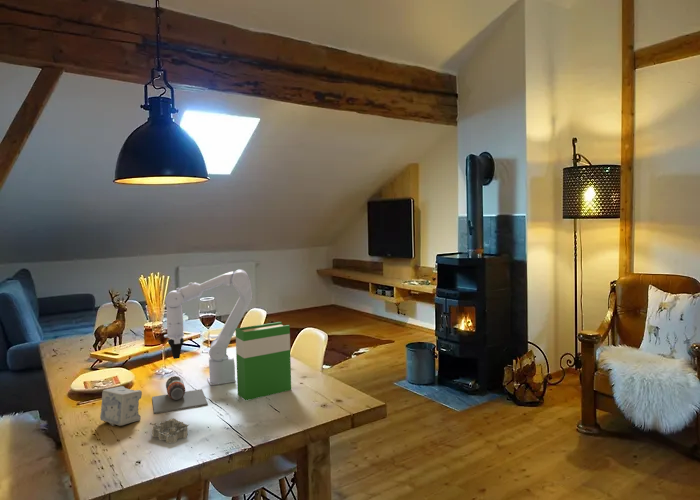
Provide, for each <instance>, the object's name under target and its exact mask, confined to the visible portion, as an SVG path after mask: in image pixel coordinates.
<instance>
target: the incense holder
mask: <svg viewBox="0 0 700 500" xmlns="http://www.w3.org/2000/svg"><path fill="white" fill-rule="evenodd" d="M142 395H143V392H142V390H140V389H136V390H135V389H130V388H127V387H125V386H123V385H122V386H115V387H111V388H106V389H103V390H102V393H101V408H100V409H101V410H100V414H99V415H100V416H99V418H100V421H102V422H106V423H109V425H111V426H112V427H114V426H116V425H117V426H119V427H121V426H125V425H129V424H131V423H134V422H139V421H141V415H140V414H139V407H140V405H139V401H140V400H141V399H142V397H143V396H142Z"/></svg>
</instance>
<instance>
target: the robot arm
mask: <svg viewBox="0 0 700 500" xmlns="http://www.w3.org/2000/svg"><path fill="white" fill-rule="evenodd" d="M231 284H232V285H231ZM251 284H252V283H251V278H250V277H249V275H248V272H247V271H246V270H244V269H237V270H234V271H233V270H232V271H228V272H226V273H223V274H219V275H218V276H215V277H213V278H211V279H208V280H206V281H204V282H202V283H199V282H192V281H191V282H188V284H187V285H185V286H182V287H176V290H171V291H169V292H168V294H167V295H165V297H164V298H165V299H164V303H165V304H166V330H167V333H166V334H164V335H163V337H164V338H168V339H167V343H168V345H169V347H170V349H171V354H172V358H173V359H174V360H176V359H180V357H181V352H182V348H183V345H184V342H185V340H184V336H185V333H184V317H183V316H184V315H183V314H184V313H183V311H184V310H183V306H182V304H183V303H188V302H190V301H192V300H195V299H198V298H201V297H202V295H203V293H204V292H206V291H209V290H212V289H214V288H217V287H221V286H228V287H231V286H233V287H234V289H235V290H236V291H237V294H238V299H237V300H236V303H235V305H234V306H233V309H232V310H231V312H230V314H229V316H228V317H227V319H226V321H225V323H224V325H223V327H222V329H221V331H220V332H219V334H218V335H217V337H216V338H215V339H213V341H211V343H210V348H209V351H208V352H209V353H208V355H209V357H208V367H209V368H208V369H209V371H208V372H209V377H208V378H207V381H208V384H209V386H217V385H224V384H229V383H237V379H236V368H235V367H236V366H235V365H236V364H235V359H234V357H233V356H229V355H228V354H227V349H228V347H229V345H230V342H231V339H232V337H233V335H234V334H235V333H236V330H235V329H236V328H238V326H239V324H240V322H241V321H242V319H243V316H244V314H245V313H246V312H247V309H248V308H249V306H250V303H251V301H252V299H253V291H252V285H251Z"/></svg>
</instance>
